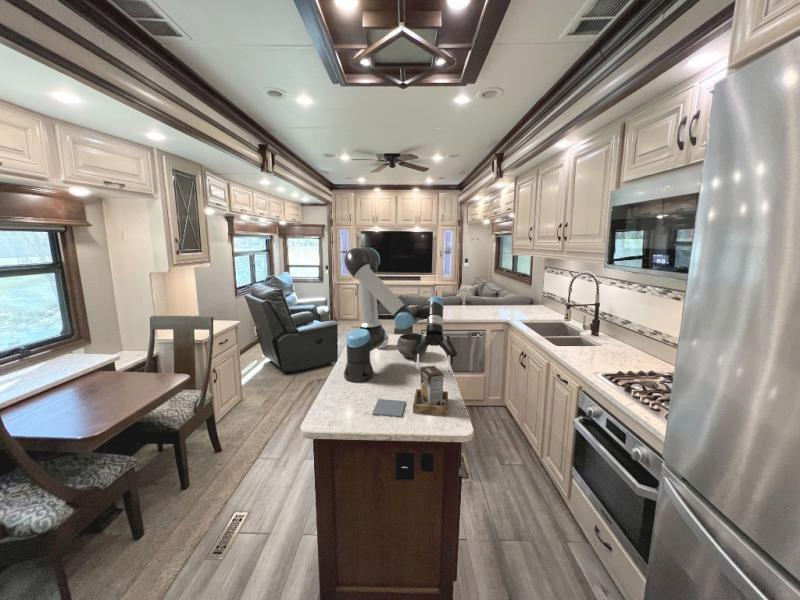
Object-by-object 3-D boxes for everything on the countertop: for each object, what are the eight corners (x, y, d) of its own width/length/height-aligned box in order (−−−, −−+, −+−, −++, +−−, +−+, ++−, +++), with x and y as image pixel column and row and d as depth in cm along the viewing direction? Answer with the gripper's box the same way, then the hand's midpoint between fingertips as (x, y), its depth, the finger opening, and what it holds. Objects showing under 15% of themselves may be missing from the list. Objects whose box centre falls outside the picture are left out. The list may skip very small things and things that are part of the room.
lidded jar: (388, 344, 215) (388, 331, 213) (388, 350, 204) (388, 335, 202) (372, 344, 214) (372, 331, 212) (371, 350, 204) (371, 335, 202)
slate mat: (372, 414, 130) (372, 413, 129) (378, 400, 141) (378, 398, 141) (401, 417, 128) (401, 415, 128) (405, 402, 140) (405, 401, 139)
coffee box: (419, 401, 140) (420, 366, 137) (433, 399, 142) (434, 364, 139) (428, 412, 132) (429, 375, 129) (442, 409, 134) (444, 373, 131)
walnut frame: (412, 412, 131) (413, 404, 131) (416, 396, 145) (416, 389, 144) (447, 415, 129) (447, 407, 129) (447, 398, 143) (447, 391, 142)
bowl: (425, 363, 183) (426, 341, 181) (394, 361, 186) (394, 340, 184) (428, 352, 201) (428, 332, 198) (399, 350, 203) (399, 331, 201)
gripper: (407, 322, 150) (403, 364, 138) (462, 323, 146) (463, 368, 135) (408, 329, 156) (405, 371, 144) (461, 331, 153) (461, 374, 141)
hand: (433, 370), depth 139 cm, fingers open, 13 cm apart
